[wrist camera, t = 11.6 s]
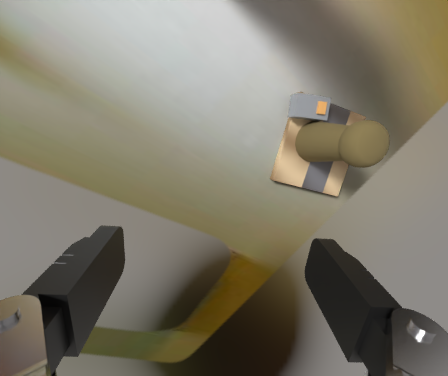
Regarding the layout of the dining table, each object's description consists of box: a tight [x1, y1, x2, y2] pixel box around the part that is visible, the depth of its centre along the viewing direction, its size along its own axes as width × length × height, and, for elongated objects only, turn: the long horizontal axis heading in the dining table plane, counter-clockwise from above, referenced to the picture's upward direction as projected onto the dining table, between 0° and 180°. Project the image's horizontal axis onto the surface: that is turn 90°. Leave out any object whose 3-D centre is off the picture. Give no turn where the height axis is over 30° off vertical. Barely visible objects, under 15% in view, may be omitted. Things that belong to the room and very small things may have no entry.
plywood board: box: [270, 92, 366, 196], centre depth 35 cm, size 13×12×1 cm
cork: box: [295, 120, 390, 168], centre depth 29 cm, size 6×6×11 cm
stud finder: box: [288, 93, 331, 121], centre depth 32 cm, size 3×5×2 cm, turn 85°
